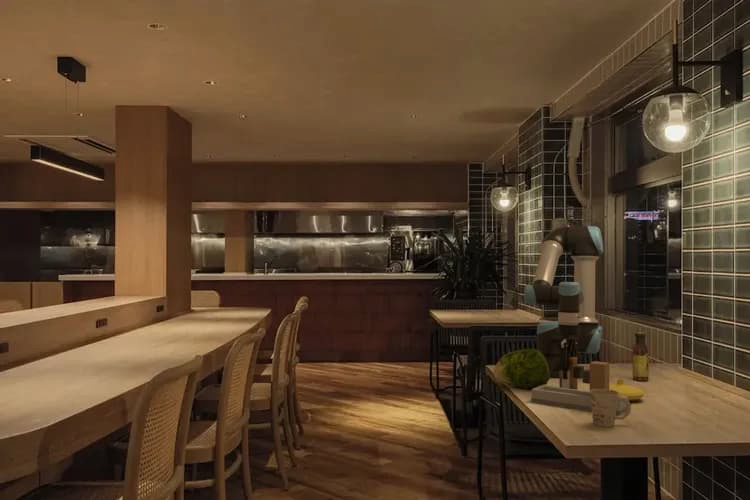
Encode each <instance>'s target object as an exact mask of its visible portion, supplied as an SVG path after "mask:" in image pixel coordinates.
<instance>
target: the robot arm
mask: <svg viewBox="0 0 750 500" xmlns="http://www.w3.org/2000/svg"><path fill="white" fill-rule="evenodd" d="M603 242H604V241H603V236H602V232H601V229H600V228H599V227H598V226H593V225H591V226H590V225H581V226H580V225H578V226H574V225H573V226H565V225H564V226H558V227H557V228H555V229H553V230H552V231H550V232H549V233H548V234H547V235H546V236H545V237H543V240H542V241H541V243H540V247H539V250H540V251H539V252H540V256H539V259H538V263H537V267H536V270H535V274H534V277H533V281H532V284H530V285H529V284H528V285H526V286H524V290H523V299H524V302H525V303H526V304H527V305H534V306H535V305H536V306H537V305H538V306H540V305H541V306H558V312H557V313H558V314H557V315H558V316H557V317H558V318H557V319H558V320H554V321H553V320H552V321H544V322H540V323H538V325H537V329H536V350H539V351H540V352H541V353H542V354H543V356H544V357H545V359H546V362H547V364H548V368H549V372H550V378H552V379H553V378H554V379H555V378H556V379H559V372H560V370H562V388H568V389H569V388H570V370H569V358H570V357H578V354H586V355H587V354H597V353H598V352H599V351H600V347H601V342H602V336H603V327H602V326H601V325H599V321H598V320H597V318H596V262H597V261H598V260H599V259H600V254H601V255H602V254H603V253H604V243H603ZM562 254H570V258H571V259H572V260H573V261H574V262H573V263H574V264H573V265H574V269H573V270H574V271H573V275H574V276H573V279H574V280H573V281H561V282H560V283H559V284H558V285H553V283H554V280H555V275H556V271H557V267H558V263H559V258H560V257H561V256H562Z"/></svg>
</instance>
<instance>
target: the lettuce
mask: <svg viewBox="0 0 750 500" xmlns="http://www.w3.org/2000/svg"><path fill="white" fill-rule="evenodd" d="M493 374H494V375H493V376H494V378H495V379H496V381H497V382H498V383H500V384H504V385H507V386H509V387H513V388H518V389H519V388H520V389H534V388H536V387H539V386H541V385H545V386H546V385H547V384H548V382H549V381H550V380H551V379H550V372H549V368H548V364H547V362H546V359H545V357H544V356H543V354H542V353H541V352H540V351H539V350H537V348H524V349H523V348H522V349H518V350H515V351H511V352H507V353H505V354H504V355H503V356H501V358H500V359H499V361H497V363H496V365H495V366H494V369H493Z"/></svg>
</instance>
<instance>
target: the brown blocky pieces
mask: <svg viewBox="0 0 750 500" xmlns="http://www.w3.org/2000/svg"><path fill="white" fill-rule="evenodd" d="M582 383H583V384H589V388H588V389H589V390H581V389H577V390H575V389H567V388H560V387H559V386H551V385H546V384H545V385H541V386H539V387H536V388H531V400H530V403H533V404H540V405H545V406H546V405H547V406H555V407H561V408H567V409H573V410H580V411H586V412H592V409H591V401H590V393H589V391H590V390H591V389H608V390H609V385H610V362H607V361H606V362H605V361H598V360H597V361H596V360H594V361H591V362H590V363H589V369H587V368H586V369H584V371H583V378H582ZM618 397H624V398H626V399H627V400H628V397H627V396H620V395H618ZM626 410H627V406H626V404H625V403H624V402H623V401H618V402H617V409H616V416H618V415H620V416H622V415H623V414H625V411H626ZM622 413H623V414H622Z"/></svg>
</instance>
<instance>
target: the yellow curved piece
mask: <svg viewBox="0 0 750 500" xmlns="http://www.w3.org/2000/svg"><path fill="white" fill-rule="evenodd" d="M616 381H617V382H616V383H614V384H609V390H614V391H617V392H618V395H620V396H627V397H628V401H629V402H631V401H632V402H633V401H637V400H639V399H643V397H644V395H645V392H644V391H643V389H641V388H638V387H634V386H631V385H628V384H627V385H626V384H625V379H622V378H621V379H620V378H619V379H617V380H616Z"/></svg>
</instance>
